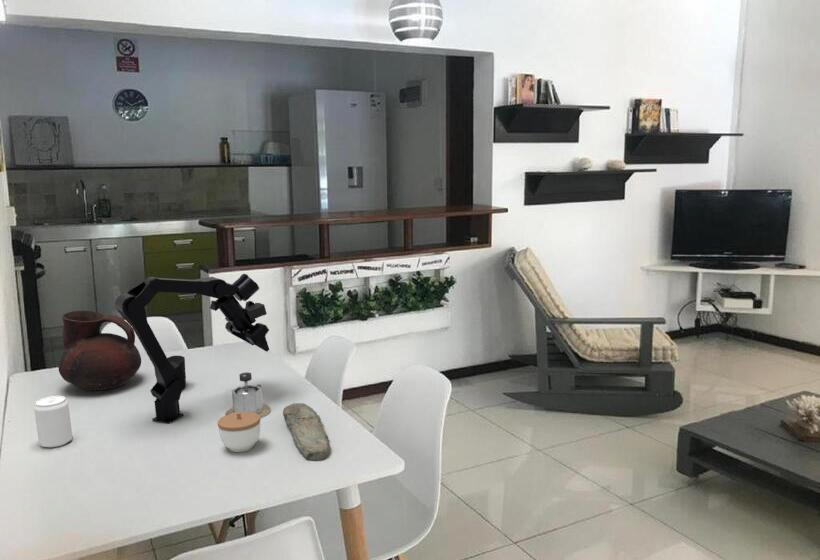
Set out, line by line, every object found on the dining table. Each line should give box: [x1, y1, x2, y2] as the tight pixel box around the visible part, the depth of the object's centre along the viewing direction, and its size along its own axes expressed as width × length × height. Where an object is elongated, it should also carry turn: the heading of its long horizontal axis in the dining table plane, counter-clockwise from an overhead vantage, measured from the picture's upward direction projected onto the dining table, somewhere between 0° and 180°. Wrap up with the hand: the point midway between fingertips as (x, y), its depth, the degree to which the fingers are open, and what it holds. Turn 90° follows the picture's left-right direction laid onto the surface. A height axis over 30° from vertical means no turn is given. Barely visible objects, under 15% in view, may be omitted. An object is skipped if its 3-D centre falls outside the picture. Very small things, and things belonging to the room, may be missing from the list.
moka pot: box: [224, 383, 271, 419], centre depth 201 cm, size 13×13×7 cm
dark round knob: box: [237, 372, 256, 394], centre depth 200 cm, size 5×5×6 cm
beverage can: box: [33, 395, 73, 448], centre depth 183 cm, size 8×8×12 cm
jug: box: [58, 310, 142, 391], centre depth 227 cm, size 25×25×25 cm
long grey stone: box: [282, 402, 330, 461], centre depth 185 cm, size 35×5×10 cm
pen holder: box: [167, 355, 187, 391], centre depth 223 cm, size 9×9×10 cm
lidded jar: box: [217, 412, 261, 453], centre depth 178 cm, size 11×11×9 cm
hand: (261, 347), depth 216 cm, fingers open, 9 cm apart
